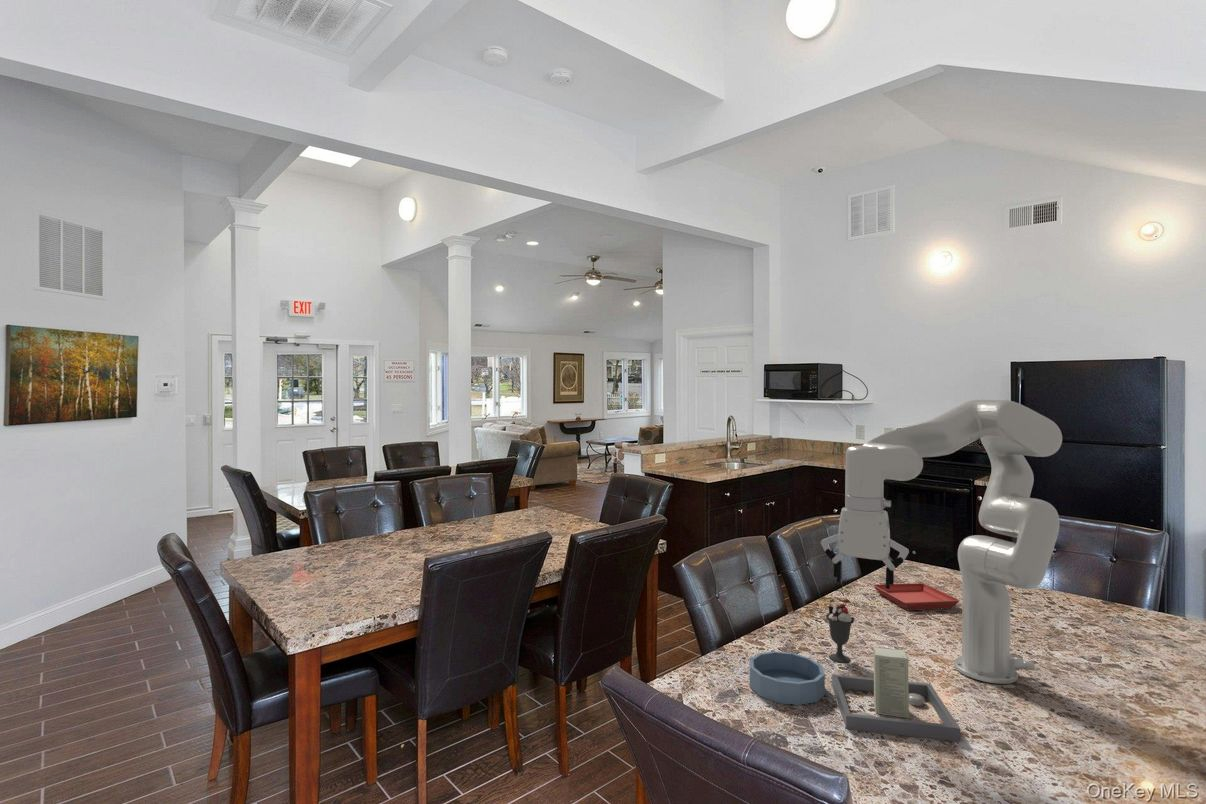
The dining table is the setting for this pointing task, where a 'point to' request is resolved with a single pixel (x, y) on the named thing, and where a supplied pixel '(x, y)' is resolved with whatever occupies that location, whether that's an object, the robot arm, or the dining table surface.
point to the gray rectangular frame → (896, 726)
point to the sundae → (839, 630)
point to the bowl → (787, 678)
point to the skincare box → (891, 682)
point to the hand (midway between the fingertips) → (863, 584)
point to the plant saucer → (916, 596)
